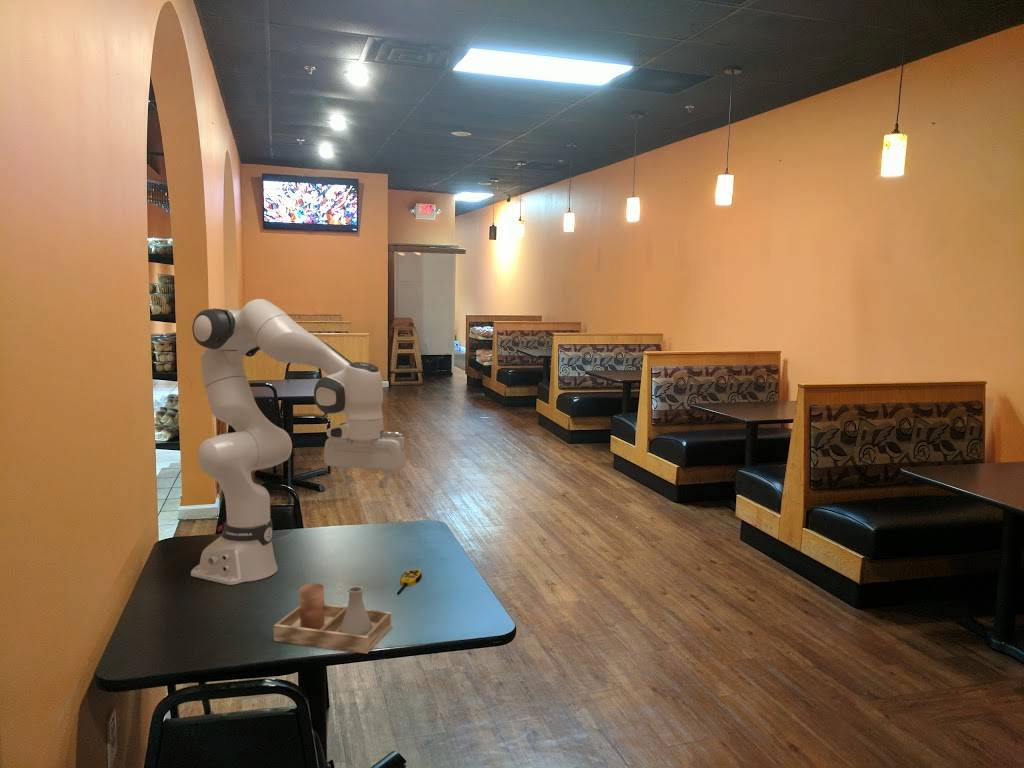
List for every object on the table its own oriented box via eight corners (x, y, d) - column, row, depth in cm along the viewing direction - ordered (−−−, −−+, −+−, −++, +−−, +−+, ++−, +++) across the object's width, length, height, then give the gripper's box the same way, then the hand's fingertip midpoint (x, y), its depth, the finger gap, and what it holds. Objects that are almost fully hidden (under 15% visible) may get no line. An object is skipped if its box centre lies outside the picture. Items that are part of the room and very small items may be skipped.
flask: (356, 642, 154) (355, 598, 153) (332, 634, 158) (331, 590, 157) (379, 630, 160) (379, 586, 159) (356, 622, 164) (355, 579, 163)
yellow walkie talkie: (425, 568, 196) (406, 589, 181) (425, 575, 196) (406, 597, 182) (408, 567, 197) (388, 588, 182) (408, 573, 197) (388, 595, 182)
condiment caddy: (273, 640, 157) (272, 596, 156) (304, 615, 169) (303, 574, 168) (367, 653, 152) (366, 608, 150) (391, 626, 164) (391, 584, 163)
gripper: (409, 430, 175) (410, 485, 176) (333, 425, 179) (333, 479, 181) (399, 434, 169) (400, 492, 170) (320, 429, 173) (321, 485, 175)
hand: (365, 485), depth 176 cm, fingers open, 8 cm apart
